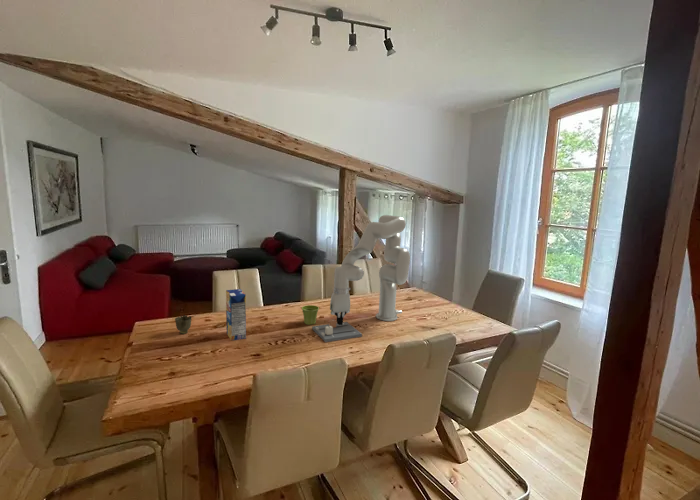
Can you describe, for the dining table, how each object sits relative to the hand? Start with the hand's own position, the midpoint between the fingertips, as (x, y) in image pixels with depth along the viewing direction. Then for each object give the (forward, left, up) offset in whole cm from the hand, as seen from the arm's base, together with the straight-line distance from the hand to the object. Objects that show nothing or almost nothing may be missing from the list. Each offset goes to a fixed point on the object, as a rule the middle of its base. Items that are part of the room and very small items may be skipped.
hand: (339, 324), depth 196 cm
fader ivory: (+10, +8, -1) cm, 13 cm away
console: (+3, +4, -3) cm, 6 cm away
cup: (+74, -22, -3) cm, 78 cm away
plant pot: (+11, -14, -3) cm, 18 cm away
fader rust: (+4, 0, -1) cm, 4 cm away
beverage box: (+51, -10, -3) cm, 53 cm away
